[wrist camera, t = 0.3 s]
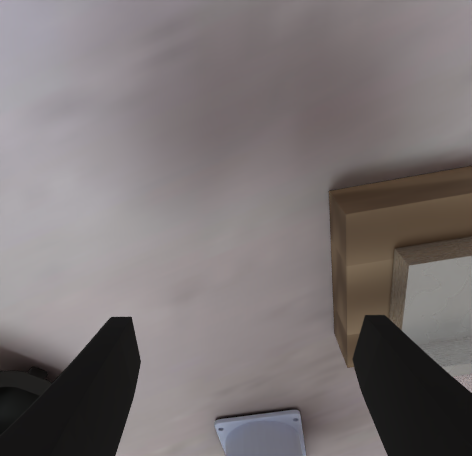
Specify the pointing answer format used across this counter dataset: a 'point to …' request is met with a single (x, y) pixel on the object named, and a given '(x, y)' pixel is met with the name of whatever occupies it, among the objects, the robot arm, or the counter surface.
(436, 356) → the grey stepped block
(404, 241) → the socket plate
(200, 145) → the counter surface
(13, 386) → the muzzle brake
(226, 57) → the counter surface
